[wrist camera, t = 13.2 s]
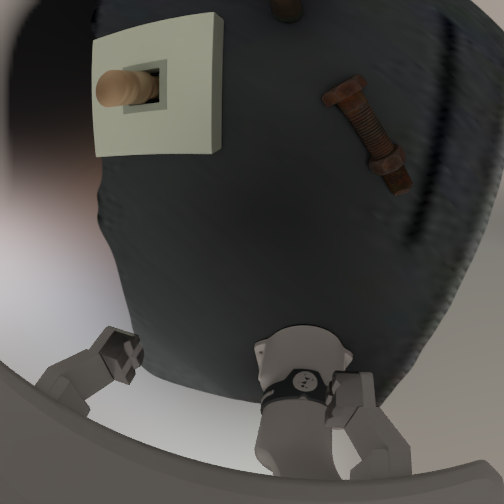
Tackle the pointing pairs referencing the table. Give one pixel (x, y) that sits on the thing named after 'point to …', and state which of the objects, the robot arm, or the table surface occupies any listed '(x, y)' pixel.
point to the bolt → (371, 133)
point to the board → (163, 88)
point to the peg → (126, 88)
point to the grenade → (287, 10)
